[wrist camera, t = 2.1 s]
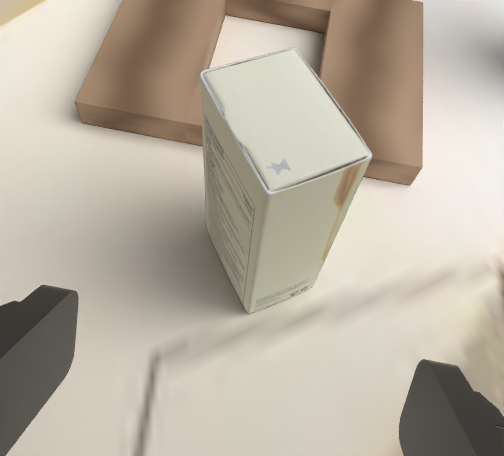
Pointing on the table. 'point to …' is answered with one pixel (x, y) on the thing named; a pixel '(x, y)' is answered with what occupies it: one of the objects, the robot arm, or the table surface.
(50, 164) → the table surface
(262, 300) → the skincare box
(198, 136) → the walnut board
